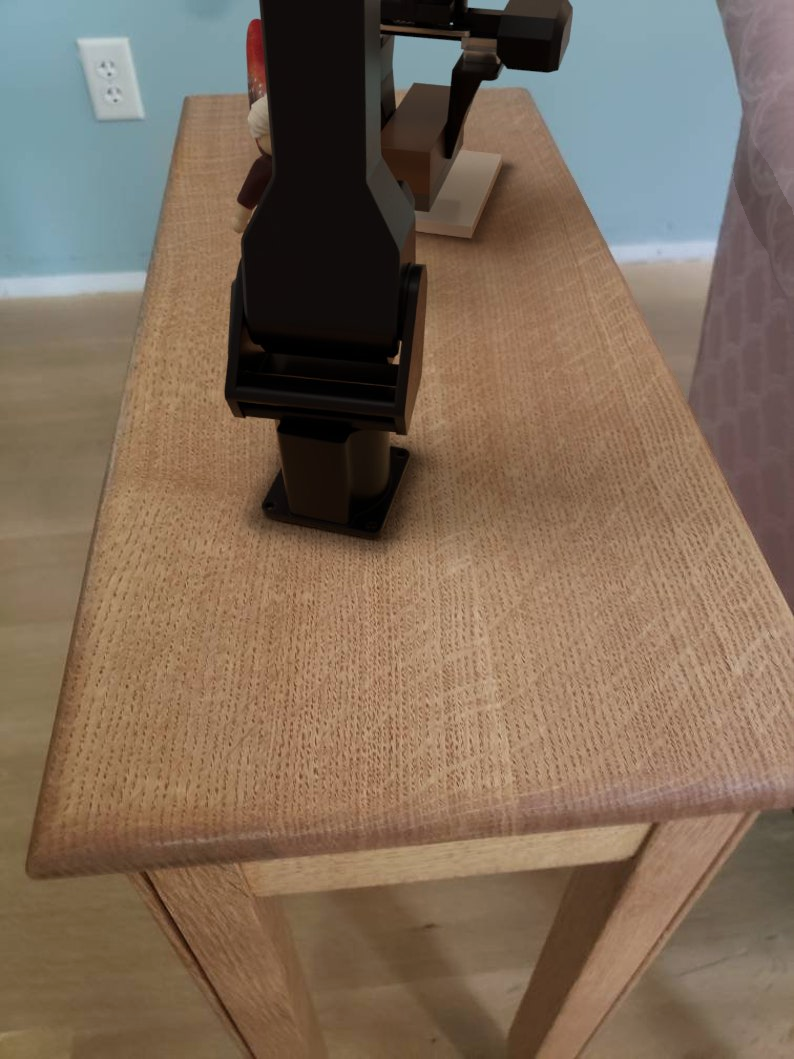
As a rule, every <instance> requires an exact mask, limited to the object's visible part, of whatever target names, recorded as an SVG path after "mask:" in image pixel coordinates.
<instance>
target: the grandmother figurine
mask: <svg viewBox="0 0 794 1059" xmlns="http://www.w3.org/2000/svg"><path fill="white" fill-rule="evenodd" d="M251 107H252V109H251V111H250V110H249V114H248V116H247V118H246V120H247V124H248V126H249V127H250V130H249V131H250V136H252V137H253V139H255V138H257V139H258V142H259V144H260V146H261V148H262V149H263V150H264V151H265V152H266V153H265V154H264V155H260V156H259V157H258V158H256V159H255V160H254V162H253V163H252V165H251V167H250V169H249V171H248V173H247V176H246V177H245V180H244V182H243V184H242V186H241V188H240V191H239V193H238V195H237V197H236V205H235V208H234V217H233V218H232V220H231V229H232V230H233V231H234V232H235V233H237V234H243V233H244V231H245V229H246V227H247V225H248V223H249V221H250V219H251V217H252V215H253V212H254V211H253V210H255V209H256V207H257V205H258V203H259V201H260V199H261V197H262V195H263V193H264V191H265V189H266V187H267V185H268V183H269V181H270V179H271V177H272V173H273V172H272V152H271V140H270V128H269V116H268V103H267V95H266V96H264V97H262V98H260V99H259V100H257V101H256V102H255V103H254V104H252V105H251Z"/></svg>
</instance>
